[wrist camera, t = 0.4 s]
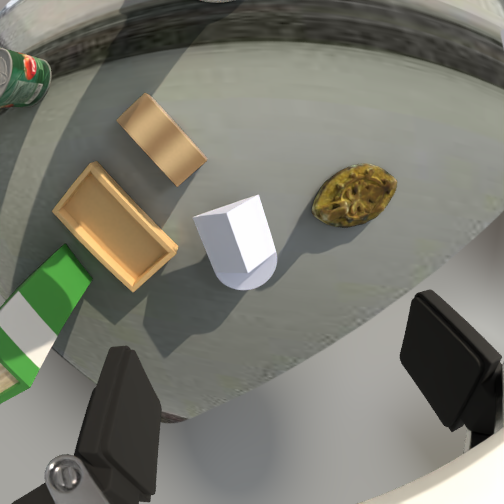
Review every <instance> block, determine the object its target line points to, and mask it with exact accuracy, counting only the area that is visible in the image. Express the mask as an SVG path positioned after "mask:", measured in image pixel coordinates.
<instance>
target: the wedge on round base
mask: <svg viewBox="0 0 504 504" xmlns="http://www.w3.org/2000/svg"><path fill="white" fill-rule="evenodd" d="M193 220H194V222H195V225H196V227H197V230H198V232H199V235H200V237H201V240H202V242H203V245H204V247H205V250H206V252H207V255H208V257H209V260H210V262H211V265H212V267H213V269H214V272H215V274H216V276H217V277H218V279H219V280H220V281H221V282H222V283H223V284H225V285H226V286H228V287H230V288H233V289H237V290H250V289H254V288H257V287H259V286H261V285H262V284H264V283H265V282H266V281H268V280H269V279H270V277H271V276H272V275H273V273H274V271H275V268H276V265H277V254H276V250H275V247H274V243H273V240H272V237H271V233H270V230H269V227H268V224H267V220H266V217H265V214H264V211H263V207H262V204H261V201H260V198H259V195H256V196H253V197H250V198H247V199H244V200H241V201H238V202H235V203H232V204H229V205H226V206H223V207H220V208H217V209H214V210H211V211H209V212H206V213H203V214H200V215H197V216H195V217H193Z"/></svg>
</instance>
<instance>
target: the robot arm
mask: <svg viewBox="0 0 504 504" xmlns="http://www.w3.org/2000/svg"><path fill="white" fill-rule="evenodd" d="M200 1H205V2H215V3H219V2H228V1H234V0H200ZM501 358H502V356H501V355H500V354H499V353H498V352H497V351H496V350H495V349H494V348H493V347H492V346H491V345H490V344H489V343H488V342H487V341H486V340H485V339H484V338H483V337H482V336H481V335H480V334H479V333H478V332H477V331H476V330H475V329H474V328H473V327H472V326H471V325H470V324H469V323H468V322H467V321H466V320H465V319H464V318H463V317H461V316H460V315H459V314H458V313H457V312H456V311H455V310H454V309H453V308H452V307H451V306H450V305H448V304H447V303H446V302H445V301H444V300H443V299H442V298H441V297H440V296H438V295H437V294H436V293H435V292H434V291H432V290H426V291H423V292H419V293H417V294H416V295H415V297H414V299H413V300H412V302H411V306H410V312H409V316H408V321H407V327H406V331H405V335H404V340H403V344H402V348H401V352H400V361H401V363H402V365H403V366H404V367H405V369H406V370H407V372H408V373H409V375H410V376H411V377H412V379H413V380H414V382H415V383H416V385H417V386H418V388H419V389H420V390H421V392H422V393H423V395H424V396H425V398H426V399H427V401H428V402H429V404H430V405H431V407H432V408H433V410H434V411H435V413H436V414H437V416H438V417H439V419H440V420H441V422H442V423H443V425H444V426H446V427H449V429H450V430H451V432H453V431H455V430H457V429H458V428H460V427H462V426H463V425H464V424H465V426H466V427H467V433H466V439H465V446H464V452H463V455H461V456H459V457H458V458H456V459H454V460H453V461H451V462H449V463H447V464H445V465H444V466H442V467H440V468H438V469H436V470H434V471H432V472H431V473H429V474H427V475H425V476H423V477H421V478H419V479H417V480H414V481H412V482H410V483H408V484H406V485H403V486H401V487H399V488H397V489H394V490H392V491H390V492H387V493H385V494H382V495H379V496H377V497H374V498H372V499H369V500H366V501H364V502H360V503H357V504H504V363H503V364H501V363H500V360H501ZM161 411H162V410H161V404H160V401H159V399H158V397H157V395H156V393H155V391H154V389H153V387H152V385H151V383H150V381H149V379H148V377H147V375H146V373H145V371H144V369H143V367H142V365H141V362H140V360H139V358H138V356H137V354H136V352H135V350H130V348H129V347H128V346H118V347H111V348H110V349H109V352H108V354H107V357H106V360H105V363H104V366H103V369H102V371H101V374H100V377H99V380H98V383H97V386H96V387H95V388H94V390H93V392H92V395H91V398H90V401H89V404H88V407H87V410H86V414H85V417H84V420H83V424H82V427H81V431H80V434H79V438H78V441H77V445H76V449H75V453H74V456H73V455H69V454H66V455H60V456H57V457H55V458H54V459H52V460H51V461H50V463H49V464H48V465H47V467H46V471H45V483H44V484H42V485H41V486H39V487H37V488H36V489H34V490H33V491H31V492H29V493H28V494H26V495H24V496H23V497H21V498H20V499H18V500H16V501H14V502H13V503H12V504H139V501H140V502H150V499H151V495H154V494H155V491H156V473H157V458H158V445H159V433H160V432H159V431H160V422H161Z"/></svg>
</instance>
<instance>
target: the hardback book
mask: <svg viewBox="0 0 504 504" xmlns="http://www.w3.org/2000/svg"><path fill="white" fill-rule="evenodd" d="M92 279H93V278H92V277H91V276H90V275H89V274H88V272H87V271H86V270H85V268H84V267H83V266H82V265H81V263H80V262H79V261H78V259H77V258H76V257H75V256H74V254H73V253H72V252H71V250H70V249H69V248H68V246H67V245H66V244H64V245H63V246H62V247H61V248H59V249H58V250H57V251H56V252H55V253H54V254H53V255H52V256H51V257H49V258H48V259H47V260H46V261H45V262H44V263H43V264H42V265H41V266H40V267H39V268H38V269H37V270H36V271H34V272H33V273H32V274H31V275H30V276H29V277H28V278H27V279H26V280H25V281H24V282H23V283H22V284H21V285H20V286H19V287H18V288H17V289H16V290H15V291H14V292H13V294H12V295H11V296H10V297H9V298H8V299H7V300H6V301H5V302H4V304H3V305H2V306H1V307H0V404H1V403H3V402H4V401H6V400H8V399H10V398H12V397H14V396H16V395H17V394H19V393H21V392H23V391H25V390H27V389H29V388H30V387H31V385H32V383H33V381H34V379H35V377H36V375H37V373H38V371H39V369H40V367H41V365H42V364H43V362H44V360H45V358H46V356H47V354H48V352H49V350H50V349H51V347H52V345H53V343H54V341H55V340H56V338H57V336H58V334H59V333H60V331H61V329H62V327H63V326H64V324H65V322H66V321H67V319H68V317H69V316H70V314H71V312H72V311H73V309H74V308H75V306H76V304H77V303H78V301H79V300H80V298H81V296H82V295H83V293H84V292H85V290H86V289H87V287H88V286H89V284H90V282H91V281H92Z"/></svg>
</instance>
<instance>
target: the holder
mask: <svg viewBox="0 0 504 504" xmlns="http://www.w3.org/2000/svg"><path fill="white" fill-rule="evenodd" d="M52 212H53V213H54V214H55V215H56V216H57V218H58V219H59V220H60V221H61V222H62V223H63V224H64V225H65V226H66V227H67V228H68V229H69V231H70V232H71V233H72V234H73V235H74V236H75V237H76V238H77V239H78V240H79V241H80V242H81V243H82V244H83V245H84V246H85V247H86V248H87V249H88V250H89V251H90V252H91V253H92V254H93V255H94V256H95V257H96V258H97V259H98V260H99V261H100V262H101V263H102V264H103V265H104V266H105V267H106V268H107V269H108V270H109V271H110V272H111V273H112V274H113V275H115V276H116V277H117V278H118V279H119V280H120V281H121V282H122V283H123V284H124V285H125V286H126V287H127V288H129V289H130V290H131V291H132V292H135V291H136V290H137V289H138V288H139V287H140V286H141V285H142V284H143V283H144V282H146V281H147V280H148V279H149V278H150V277H151V276H152V275H153V274H154V273H156V272H157V271H158V270H159V269H160V268H161V267H162V266H163V265H164V264H166V263H167V262H168V261H169V260H170V259H171V258H172V257H173V256H175V255H176V254H177V250H178V246H177V245H176V244H175V243H174V242H173V241H172V240H171V239H170V238H169V237H168V236H167V235H166V234H165V233H164V232H163V231H162V230H161V229H160V228H159V227H158V226H157V225H156V224H155V222H154V221H153V220H152V219H151V218H150V217H149V216H148V215H147V214H146V213H145V212H144V211H143V210H142V209H141V208H140V207H139V206H138V205H137V204H136V203H135V202H134V201H133V200H132V199H131V197H130V196H129V195H128V194H127V193H126V192H125V191H124V190H123V189H122V188H121V187H120V186H119V185H118V184H117V182H116V181H115V180H114V179H113V178H112V177H111V176H110V175H109V174H108V173H107V172H106V171H105V169H104V168H103V167H102V166H101V165H100V164H99V163H98V162H97V161H95V162H92V163H90V164H89V165H88V166H87V167H86V169H85V170H84V171H83V172H82V173H81V175H80V176H79V177H78V178H77V179H76V181H75V182H74V183H73V184H72V186H71V187H70V188H69V189H68V191H67V192H66V193H65V195H64V196H63V197H62V198H61V200H60V201H59V202H58V204H57V205H56V206H55V208H54V209H53V211H52Z"/></svg>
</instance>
